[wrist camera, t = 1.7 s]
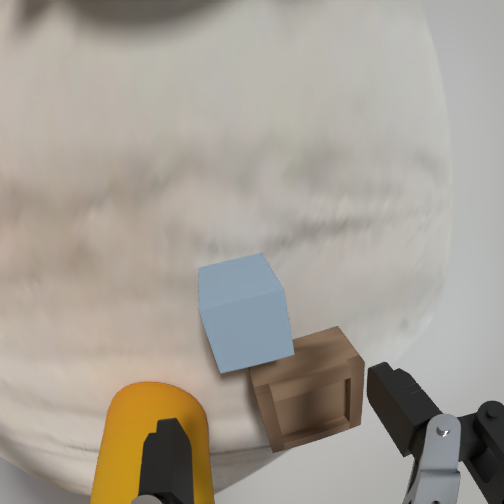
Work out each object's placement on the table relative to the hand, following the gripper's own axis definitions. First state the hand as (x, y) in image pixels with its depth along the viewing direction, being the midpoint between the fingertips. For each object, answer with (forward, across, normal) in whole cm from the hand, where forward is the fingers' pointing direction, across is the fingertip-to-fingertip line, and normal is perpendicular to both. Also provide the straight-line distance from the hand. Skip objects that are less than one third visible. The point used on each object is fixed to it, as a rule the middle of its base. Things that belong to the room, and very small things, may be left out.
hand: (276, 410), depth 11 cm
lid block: (+12, 0, 0) cm, 12 cm away
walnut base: (+12, -3, +10) cm, 15 cm away
